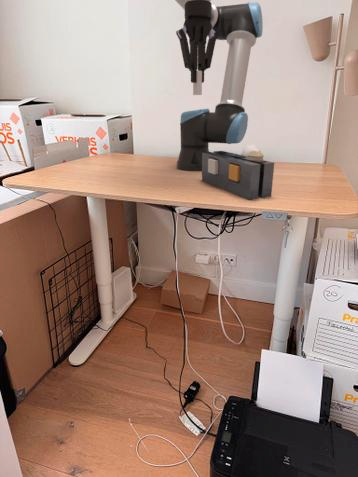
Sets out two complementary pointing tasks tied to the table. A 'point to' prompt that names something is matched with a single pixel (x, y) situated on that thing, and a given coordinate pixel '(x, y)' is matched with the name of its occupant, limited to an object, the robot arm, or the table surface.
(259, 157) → the candle
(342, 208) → the table surface
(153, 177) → the table surface
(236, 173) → the orange button
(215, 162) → the white button
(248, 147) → the light bulb
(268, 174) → the dark grey button box
